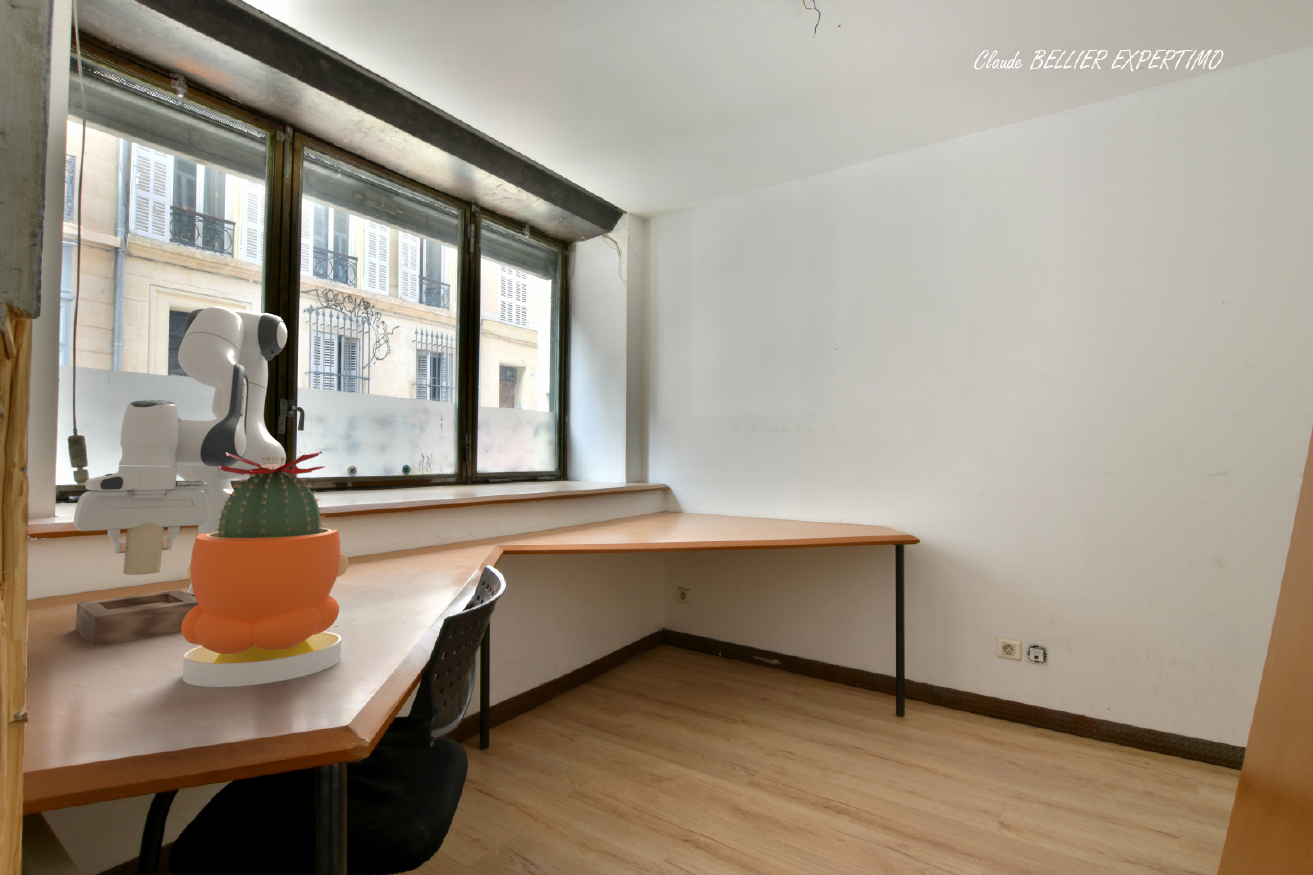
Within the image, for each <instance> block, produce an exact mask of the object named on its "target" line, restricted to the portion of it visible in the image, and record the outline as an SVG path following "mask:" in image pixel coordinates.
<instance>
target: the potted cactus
mask: <svg viewBox="0 0 1313 875" xmlns="http://www.w3.org/2000/svg"><path fill="white" fill-rule="evenodd" d="M320 454H321V455H322V454H323V452H322V451H315V452H311V453H309V454H302V455H300V456H298V457H297V458H296V459H294V460H293V461H291V462H288V463H286V461H287V457H286V458H285V465H284V464H282V463H281V464H277V457H276V464H271V462H270V464H266V457H265V464H266V465H264V464H263V465H260V464H258V463H255V462H253V461H250V460H247V459H244V458H242V457H239V456H236V455H233V454H230V453H228V452H226V455H227V456H230V457H232V458H235V459H237V460H240V461H242V462H245V463H247V464H250V465H254V466H257V467H259V468H256V469H249V470H245V469H238V468H231V467H227V466H224V467H223V466H222V467H221V466H219V469H220V470H223V471H226V472H233V473H237V474H242V475H243V474H250V475H251V476H250V475H249V476H250V478H247V480H246V478H244V479H245V480H243V479H242V480H240V479H239V480H238V481H239V482H238V484H237V483H234V485H232V488H233V489H234V490H233V492H232V493H230V497H229V498H228V500H225V501H224V500H223V501H224V502H223V503H225V506H224V508H223V510H221V509H220V508H219V509H220V510H219V511H220V512H222V514H221V517H220V518H218V519H213V520H216V521H220V522H219V529H217V528H215V529H213V530H216V531H219V532H215V531H214V532H215V533H209V534H207V533H202V534H200V535H198V534H197V535H198V536H197V535H196V536H197V537H196V536H195V539H194V543H193V547H192V550H191V558H190V564H189V566H188V568H187V577H188V579H189V580H190V581H191V582H190V584H191V583H192V589H193V593H194V595H193V596H194V597H195V598H196V600H197V602H198V604H199V605H197V606H195V607H194V608H193V609H191V610H190V611H189V612H188V613H187V614H186V616H185V617H184V619H183V621H182V625H181V631H180V632H181V635H182V637H183V638H184V640H186V641H187V642H188V643H189V644H192V645H195V646H197V647H195V648H192V649H190V650H188V651H186V653H184V655H183V666H182V668H183V669H182V681H183V683H186V684H188V685H192V686H197V687H203V688H205V687H206V688H229V687H247V686H254V685H264V684H271V683H278V682H282V681H283V682H284V681H288V680H292V679H298V678H301V677H302V678H303V677H306V676H308V675H312V674H316V673H319V672H321V671H324V669H325V670H327V669H329V668H332V667H334V666H335V665H337V664H338V663H339V662H340V661H341V659H342V658H341V657H342V636H341V635H340V634H337V633H334V632H329V631H327V630H328V629H329V628H330V627H332V626H333V625H334V623H335V622H336V620H337V619H338V617H339V614H340V613H339V612H340V605H339V603H338V601H337V600H336V599H335V598H334V597H333V596H331V595H330V593H331V592H332V589H333V587H334V584H335V583H336V581H337V578H338V577H341V576H343V575H345V573H346V572H347V570H348V568H349V559H348V557H347V556H346V554H344V553H341V540H340V534H339V530H338V529H330V528H326V527H327V526H326V523H325V524H324V523H323V524H321V520H324V519H325V518H327V517H324V516H325V514H324V515H321V514H320V513H321V512H320V511H322V510H323V511H324V510H325V509H324V506H323V507H322V506H320V507H319V504H318V502H319V501H321V500H322V498H321V495H320V496H319V497H317V498H316V497H315V495H316V494H318V491H317V492H316V489H315V490H311V488H312V487H313V483H308V485H307V480H308V479H307V476H305V477H304V476H303V477H301V478H300V477H298V476H300V475H301V474H309V473H312V472H313V471H317V470H321V469H324V468H326V467H325V466H322V465H321V466H320V465H319V466H315V467H314V466H313V467H308V468H300V467H298V466H297V465H298V464H299V463H302V462H305V461H308V460H310V459H314V458H316V457H318V456H319V455H320ZM263 459H264V457H263V458H262V460H263ZM268 460H269V461H270V457H268ZM272 460H274V457H273V458H272ZM282 460H283V461H284V457H283V459H282V458H281V461H282ZM283 461H282V462H283ZM295 465H296V466H295ZM293 466H295V467H293ZM291 467H293V468H291ZM252 475H253V476H252ZM242 478H243V477H242ZM240 482H241V483H240ZM228 490H229V489H228ZM229 492H230V490H229ZM227 493H228V492H227ZM224 494H225V493H224ZM227 495H229V494H227ZM320 498H321V499H320ZM224 499H225V498H224ZM220 501H221V500H220ZM322 508H323V509H322ZM215 511H217V510H215ZM215 513H217V512H215ZM214 517H215V516H214ZM216 518H217V517H216ZM324 525H325V526H324ZM212 528H213V527H212ZM213 530H212V531H213Z"/></svg>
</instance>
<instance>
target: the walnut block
mask: <svg viewBox="0 0 1313 875" xmlns="http://www.w3.org/2000/svg"><path fill="white" fill-rule="evenodd" d="M197 605H199V604H198V602H197V600H196V598H195V596H194V595H192V594H188V593H187V592H185V591H184V590H181V589H174V590H170V591H169V590H168V591H158V592H153V593H152V592H151V593H145V594H136V595H128V596H121V597H114V598H106V599H96V600H89V601H88V600H87V601H83V602H82V601H81V602H76V613H75V614H76V618H75V631H76V632H78V634H80V635H81V636H82V637H83V638H84V639H85V640H86V641H87V642H89V643H90V644H91V645H92V646H93V647H95V646H101V645H107V644H112V643H117V642H119V643H120V642H124V641H130V640H135V639H141V638H147V637H153V636H157V635H158V636H159V635H165V634H171V633H176V632H181V625H182V621H183V619H184V617H185V616H186V614H187V613H188V612H189V611H190V610H191V609H193V608H194V607H195V606H197Z"/></svg>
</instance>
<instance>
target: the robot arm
mask: <svg viewBox="0 0 1313 875" xmlns="http://www.w3.org/2000/svg"><path fill="white" fill-rule="evenodd" d="M183 328H184V334H185V335H184V336H183V339H182V341H181V343H180V346H179V349H178V353H177V360H178V363H179V364H178V365H179V366H180V367H181V369H182V370H183V372H185V374H186V375H188V376H189V377H190V378H191V379H193V380H195V381H196V382H198V383H200V384H202V385H204V386H205V385H206V386H208V387H211V388H214V395H213V400H212V404H211V411H212V413H213V415H214V416H215V418H216V419H211V420H188V419H187V420H185V419H182V417H181V418H180V417H179V413H178V407H177V404H176V403H175V402H173V401H169V400H164V399H163V400H159V399H151V400H150V399H149V400H148V399H144V400H142V399H141V400H136V401H133V402H130V403H129V404H127V407H126V408H125V411H124V415H123V419H122V422H121V423H122V424H121V432H120V443H119V444H120V447H121V452H122V453H121V454H122V455H121V458H120V460H119V463H118V470H117V472H114V473H107V474H104V475H101V476H96V477H92V478H89V479H87V480H85V484H84V485H85V486H84V487H85V489H86V490H88V491H86V492H83V493H82V494H81V495H80V497H79V498H78V500H77V503H76V508H75V511H74V515H73V527H74V528H75V529H76V530H77V531H79V532H93V531H107V537H108V538H109V539H110V540H111V541H112V543H113V544H114V551H113V552H114V554H125V553H126V547H127V544H126V542H123V543H122V542H121V541H120V539H119V538H118V537H117V536H120V534H121V530H127V529H133V528H135V527H138V526H140V525H142V524H144V523H145V522H151V523H153V524H155V525H158V526H160V527H163V528H167V532H170V533H169V534H168V536H167V537H166V539H163V545H162V551H166V550H171V549H172V545H173V540H175V538H176V537H177V536H178V534H179V533H180V528H181V527H189V526H190V527H191V526H198V534H196V536H195V538H196V537H197V536H198V535H200V534H202V533H207V534H209V533H215V532H219V531H216V530H213V529H215V528H217V529H219V522H220V521H216V520H213V519H218V518H220V517H221V514H222V512H220V511H219V510H220V509H221V510H223V508H224V506H225V503H223V502H224V501H225V500H228V498H229V497H230V493H232V492H233V490H235V488H234V487H233V485H232V483H231V480H236V481H239V479H240V481H242V479H243V480H245V479H244V478H246V480H247V478H250V476H251V475H250V474H243V475H242V474H237V473H233V472H226V471H223V470H220V469H219V466H221V467H222V466H223V467H224V466H227V467H231V468H238V469H245V470H249V469H256V468H259V467H257V466H254V465H250V464H247V463H245V462H242V461H240V460H237V459H235V458H232V457H230V456H227V455H226V452H228V453H230V454H233V455H236V456H239V457H242V458H244V459H247V460H250V461H253V462H255V463H258V464H260V465H263V464H264V465H266V464H270V462H271V464H276V457H277V464H281V463H282V464H284V465H285V464H286V463H285V458H286V459H287V455H286V451H285V449H284V447H283V446H282V444H281V443H280V442H279V441H277V440H276V439H275V438H274V437H273V436H272V435H271V433H270V432H269V431H268V429H267V426H266V423H265V418H264V417H265V416H264V414H265V403H266V402H265V401H266V396H267V391H268V390H267V388H268V380H269V370H268V369H269V367H268V361H271V360H273V359H274V357H275V356H278V355H279V354H280V353H281V352H282V351H283V349H284V348H285V346H286V344H287V339H288V330H287V327H286V323H285V322H284V320H283V319H282V318H281V316H278V315H274V314H271V313H267V312H264V313H262V312H256V311H251V310H242V309H229V308H226V307H222V306H209V307H206V308H197V309H194V310H192V311H191V312H189V313H188V314H187V315H186V318H185V320H184V327H183ZM263 457H264V459H263V460H262V458H263ZM265 457H266V464H265ZM268 457H270V461H269V460H268ZM273 457H274V460H272V458H273ZM283 457H284V461H283V460H282V461H283V462H282V461H281V458H282V459H283ZM249 475H250V476H249ZM177 476H178V477H180V478H182V479H183V480H177ZM252 476H253V475H252ZM242 477H243V478H242ZM228 489H229V490H230V492H229V490H228ZM227 492H228V493H227ZM224 493H225V494H224ZM227 494H229V495H227ZM224 498H225V499H224ZM220 500H221V501H220ZM223 500H224V501H223ZM219 508H220V509H219ZM215 510H217V511H215ZM215 512H217V513H215ZM214 516H215V517H214ZM216 517H217V518H216ZM212 527H213V528H212ZM212 530H213V531H212ZM214 531H215V532H214ZM186 593H187V594H189V595H192V596H194V593H193V589H192V583H191V582H190V584H189V588H188V589H187V592H186Z"/></svg>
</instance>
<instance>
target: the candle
mask: <svg viewBox="0 0 1313 875" xmlns="http://www.w3.org/2000/svg"><path fill="white" fill-rule="evenodd" d="M164 530H165V527H160V526H158V525H155V524H153V523H151V522H145V523H144V524H142V525H140V526H138V527H135V528H133V529H126V539H125V543H126V544H127V547H126V553H124V561H123V571H122V572H123V575H127V576H128V575H130V576H132V575H133V576H135V575H136V576H137V575H138V576H141V575H150V574H157V573H160V571H161V565H162V555H163V550H162V545H163V540H164V532H165V531H164Z"/></svg>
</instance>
